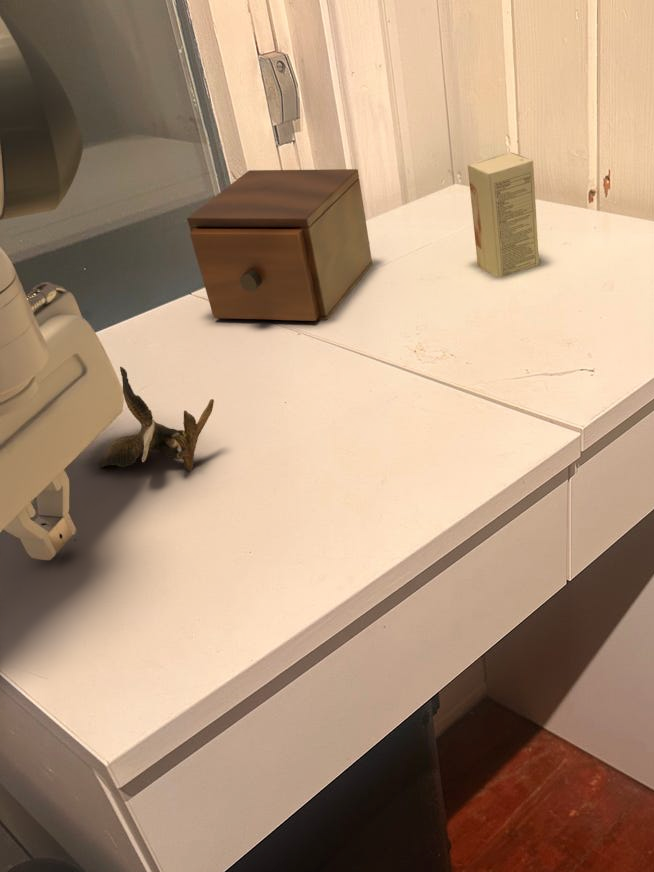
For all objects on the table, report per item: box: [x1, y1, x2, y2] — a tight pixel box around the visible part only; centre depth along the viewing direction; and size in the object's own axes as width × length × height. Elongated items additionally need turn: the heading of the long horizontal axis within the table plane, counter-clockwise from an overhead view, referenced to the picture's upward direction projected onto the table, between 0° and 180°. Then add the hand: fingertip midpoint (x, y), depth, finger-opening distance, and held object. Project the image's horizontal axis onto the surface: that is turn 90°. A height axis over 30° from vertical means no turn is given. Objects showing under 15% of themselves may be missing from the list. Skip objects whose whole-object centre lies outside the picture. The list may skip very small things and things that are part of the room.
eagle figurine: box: [98, 366, 215, 472], centre depth 67 cm, size 8×7×9 cm
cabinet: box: [186, 168, 373, 321], centre depth 88 cm, size 14×12×10 cm
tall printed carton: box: [467, 151, 540, 278], centre depth 88 cm, size 5×4×10 cm
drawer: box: [189, 227, 319, 322], centre depth 86 cm, size 14×10×8 cm
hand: (54, 546), depth 59 cm, fingers closed
